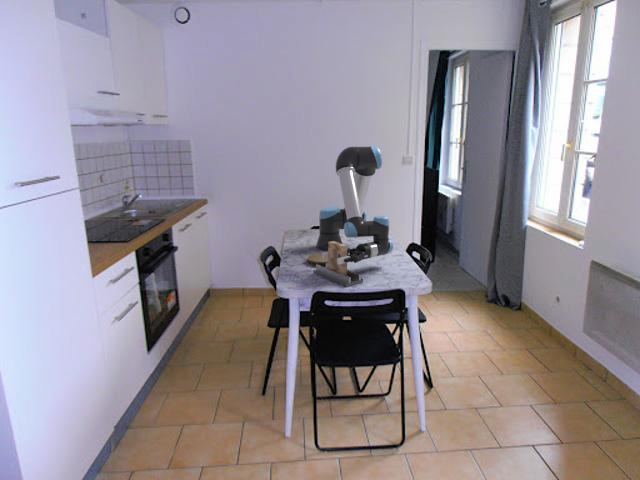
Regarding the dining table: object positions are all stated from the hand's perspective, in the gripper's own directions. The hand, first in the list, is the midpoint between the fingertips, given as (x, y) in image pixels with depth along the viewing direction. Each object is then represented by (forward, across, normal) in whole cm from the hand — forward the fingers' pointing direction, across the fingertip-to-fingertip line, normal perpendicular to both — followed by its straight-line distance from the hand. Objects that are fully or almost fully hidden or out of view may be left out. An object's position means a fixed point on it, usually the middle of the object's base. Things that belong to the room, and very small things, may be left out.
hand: (330, 258), depth 203 cm
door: (-4, 0, -8) cm, 9 cm away
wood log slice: (-14, +24, -10) cm, 30 cm away
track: (-4, 0, -10) cm, 11 cm away
